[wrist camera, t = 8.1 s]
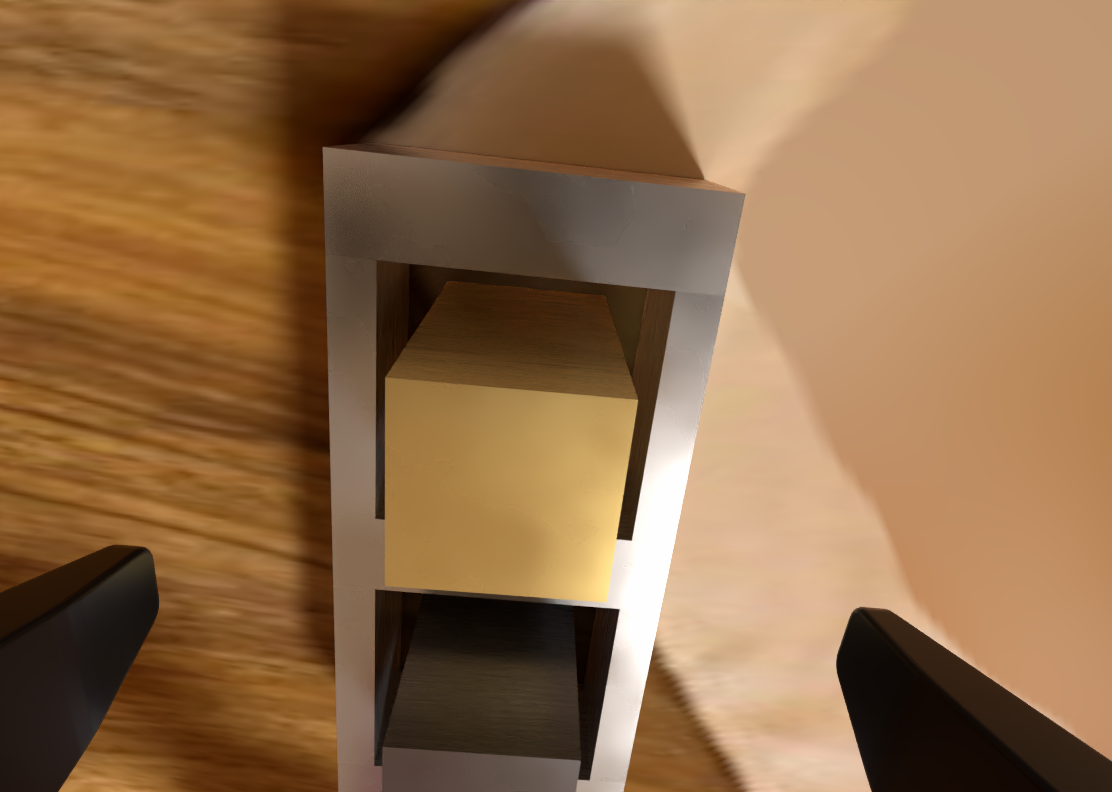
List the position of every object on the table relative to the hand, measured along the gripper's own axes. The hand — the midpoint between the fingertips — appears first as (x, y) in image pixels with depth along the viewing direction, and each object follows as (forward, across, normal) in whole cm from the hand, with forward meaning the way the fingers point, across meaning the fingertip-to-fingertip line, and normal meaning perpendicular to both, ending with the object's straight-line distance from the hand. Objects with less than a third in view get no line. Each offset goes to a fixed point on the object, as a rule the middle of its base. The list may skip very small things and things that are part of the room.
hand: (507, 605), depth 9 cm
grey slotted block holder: (+10, 0, +4) cm, 11 cm away
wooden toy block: (+10, 0, 0) cm, 10 cm away
